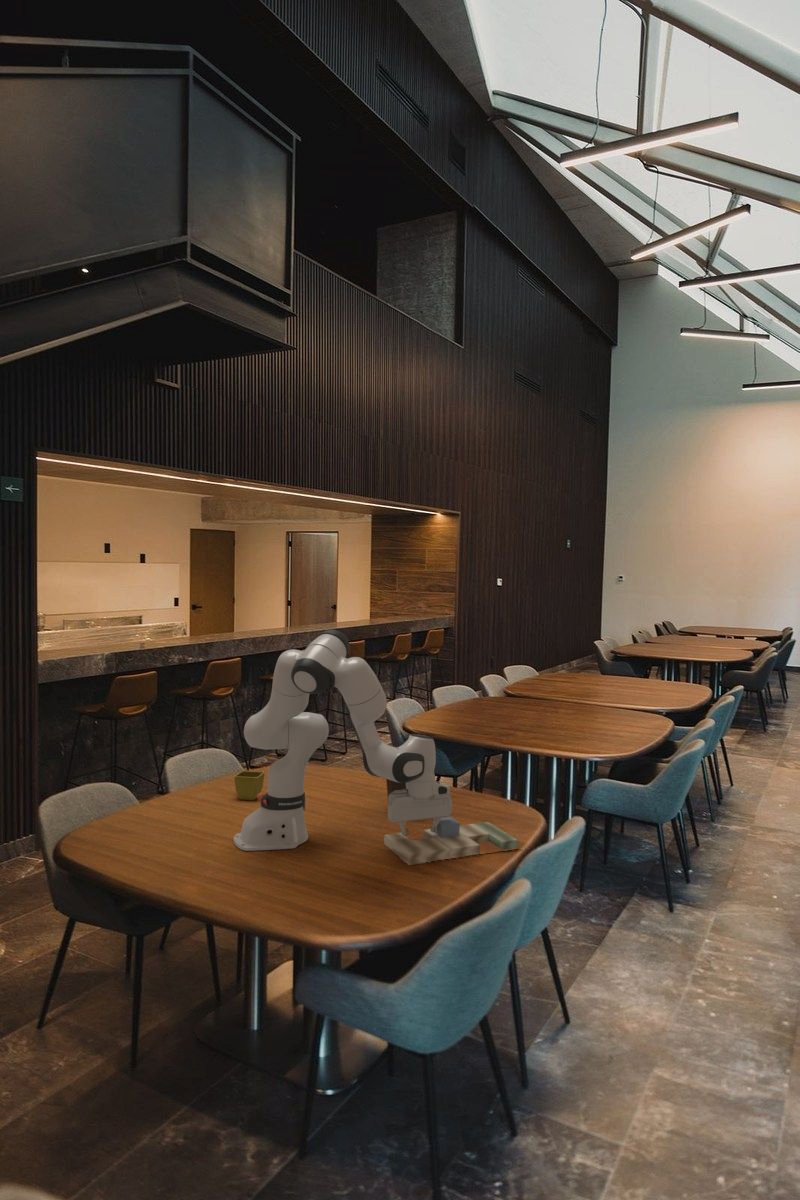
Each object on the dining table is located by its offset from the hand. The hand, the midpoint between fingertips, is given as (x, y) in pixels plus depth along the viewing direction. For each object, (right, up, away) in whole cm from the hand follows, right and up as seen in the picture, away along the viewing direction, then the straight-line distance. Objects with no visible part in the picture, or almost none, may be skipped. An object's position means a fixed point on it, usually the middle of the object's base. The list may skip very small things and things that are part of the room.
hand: (419, 833), depth 230 cm
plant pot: (-4, -3, +34) cm, 35 cm away
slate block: (+8, -1, +4) cm, 9 cm away
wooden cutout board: (+9, -4, +1) cm, 10 cm away
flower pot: (-61, -2, +47) cm, 77 cm away
